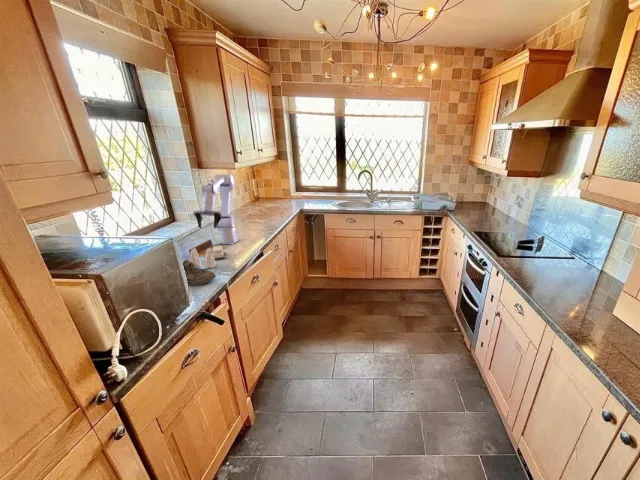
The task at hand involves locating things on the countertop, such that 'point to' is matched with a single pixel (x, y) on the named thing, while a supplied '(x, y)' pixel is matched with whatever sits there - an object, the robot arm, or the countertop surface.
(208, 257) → the shaker set
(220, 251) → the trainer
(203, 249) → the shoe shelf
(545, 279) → the countertop surface
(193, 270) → the hiking shoe
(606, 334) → the countertop surface
